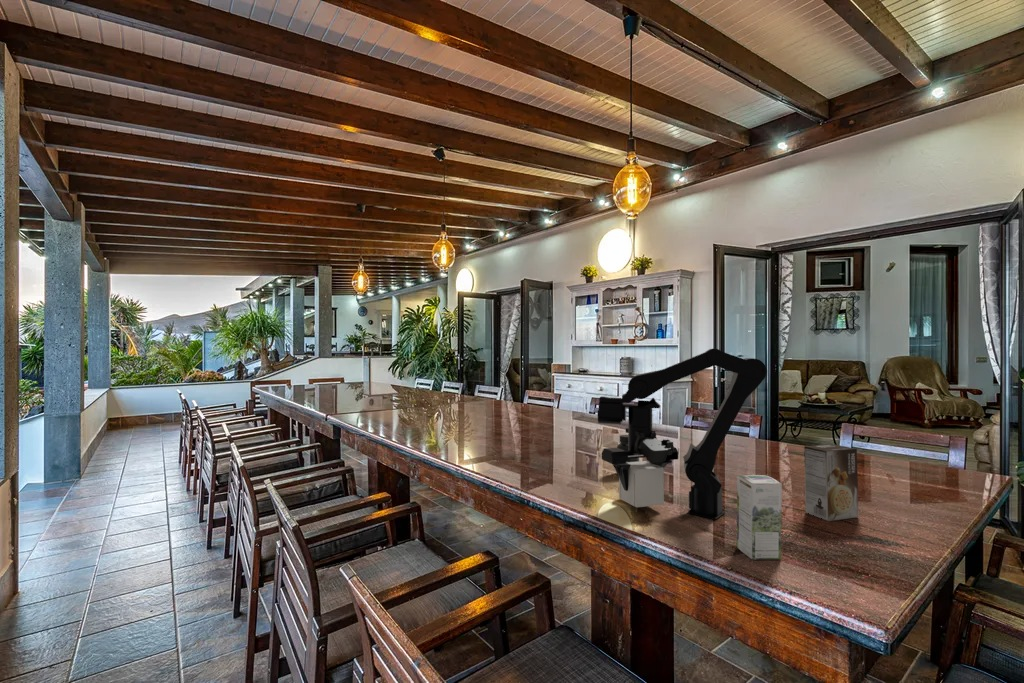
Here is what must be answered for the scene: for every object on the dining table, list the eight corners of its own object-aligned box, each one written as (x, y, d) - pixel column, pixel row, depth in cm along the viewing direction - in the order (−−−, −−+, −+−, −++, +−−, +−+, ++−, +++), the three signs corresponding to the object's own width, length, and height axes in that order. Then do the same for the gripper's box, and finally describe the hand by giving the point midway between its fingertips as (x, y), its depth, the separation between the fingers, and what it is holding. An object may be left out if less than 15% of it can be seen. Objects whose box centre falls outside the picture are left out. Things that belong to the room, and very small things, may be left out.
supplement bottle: (637, 471, 154) (637, 434, 154) (640, 477, 147) (640, 438, 147) (615, 471, 155) (615, 433, 155) (618, 476, 148) (617, 437, 148)
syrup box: (764, 547, 95) (764, 473, 95) (782, 560, 89) (782, 481, 89) (736, 548, 95) (735, 473, 95) (752, 561, 89) (751, 482, 89)
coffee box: (834, 509, 118) (833, 443, 118) (859, 518, 112) (858, 448, 112) (804, 512, 115) (803, 445, 116) (828, 521, 109) (827, 450, 109)
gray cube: (645, 495, 123) (645, 460, 124) (664, 504, 116) (663, 467, 116) (619, 498, 121) (618, 463, 121) (636, 507, 114) (636, 469, 114)
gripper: (624, 432, 109) (624, 502, 108) (693, 428, 114) (693, 494, 114) (600, 425, 119) (600, 488, 119) (664, 422, 125) (664, 482, 125)
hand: (640, 488), depth 119 cm, fingers closed on gray cube, 8 cm apart
